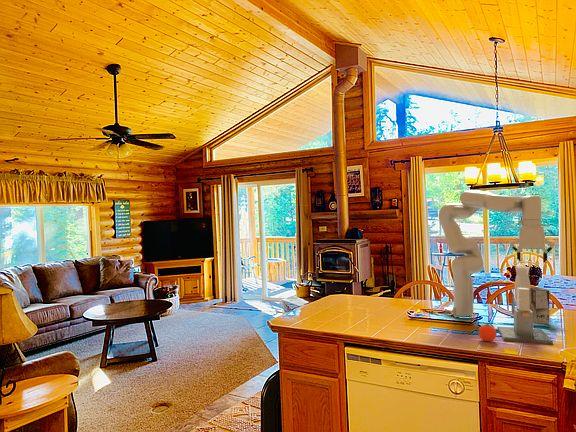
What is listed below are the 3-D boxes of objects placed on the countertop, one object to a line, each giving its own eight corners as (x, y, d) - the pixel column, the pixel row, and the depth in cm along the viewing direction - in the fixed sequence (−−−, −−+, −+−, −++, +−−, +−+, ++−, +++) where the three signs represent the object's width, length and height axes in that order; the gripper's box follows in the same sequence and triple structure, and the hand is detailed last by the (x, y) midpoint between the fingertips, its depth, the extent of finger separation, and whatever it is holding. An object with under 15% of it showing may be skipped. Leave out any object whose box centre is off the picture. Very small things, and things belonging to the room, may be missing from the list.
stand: (504, 340, 180) (503, 313, 180) (497, 329, 198) (497, 304, 197) (552, 344, 175) (552, 316, 175) (541, 332, 192) (541, 307, 192)
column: (519, 333, 185) (518, 289, 185) (517, 330, 189) (516, 287, 189) (529, 334, 183) (529, 289, 183) (527, 331, 187) (527, 288, 187)
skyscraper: (527, 313, 231) (526, 261, 231) (534, 316, 223) (533, 263, 223) (510, 312, 232) (510, 261, 232) (517, 316, 224) (517, 263, 224)
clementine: (477, 337, 185) (477, 321, 185) (494, 338, 183) (494, 322, 183) (479, 342, 178) (479, 325, 178) (498, 344, 176) (498, 326, 176)
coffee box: (550, 323, 207) (549, 290, 207) (535, 323, 209) (535, 290, 209) (542, 319, 216) (542, 287, 216) (529, 318, 218) (528, 287, 217)
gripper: (509, 223, 191) (510, 261, 191) (555, 223, 183) (555, 263, 183) (509, 223, 198) (510, 260, 198) (553, 223, 190) (553, 261, 190)
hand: (531, 261), depth 191 cm, fingers open, 9 cm apart
